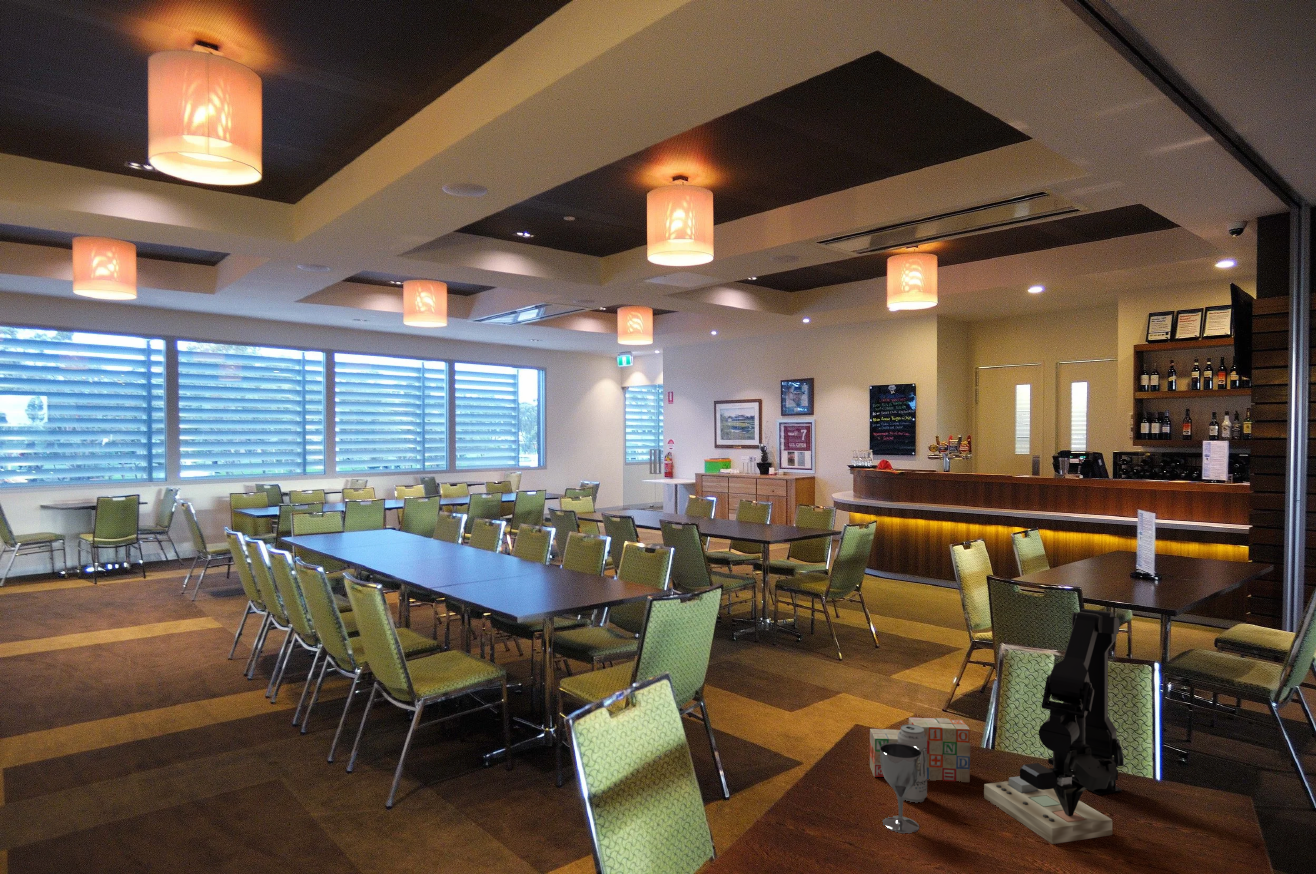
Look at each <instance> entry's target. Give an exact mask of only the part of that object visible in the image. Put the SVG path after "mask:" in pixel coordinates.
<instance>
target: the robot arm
mask: <svg viewBox="0 0 1316 874" xmlns="http://www.w3.org/2000/svg"><path fill="white" fill-rule="evenodd" d="M1071 613H1072V614H1071V631H1070V635H1069V639H1068V642H1067V644H1066V645H1067V646H1066V650H1065V652H1064V655H1063V658H1062V660H1061V661H1059V662H1057V663H1055V664H1054V665H1053V667H1052V669H1051V671H1050V674H1049V675H1047V677H1046V680H1045V684H1044V685H1045V686H1044V690H1043V698H1042V702H1041V709H1044V710H1048V711H1049V717H1048V718H1047V719H1046V720H1045V721H1044V722H1043V723H1042V724H1041V725H1040V727H1039V730H1038V737H1039V741H1040V742H1041V744H1042V745H1043V746H1044V747H1045V748H1046V749H1047V750H1049V751H1051V752H1052V757H1048V758H1047V763H1048V764H1049V765H1051V766H1052V767H1051V768H1047V767H1046V766H1044V765H1042V764H1040V763H1039V762H1036V763H1028V764H1022V765H1021V766H1020V768H1019V776H1020V778H1021V779H1022V780H1024V781H1026V782H1027V783H1029V784H1031V785H1032V786H1034V787H1036V788H1037V789H1041V790H1046V789H1054V791H1055V793H1056V795H1057V797H1058V799H1059V801H1060V804H1061V806H1062V808H1063V810H1064V812H1065V814H1066V815H1067V816H1073V814H1074V811H1075V809H1076V806H1077V804H1078V801H1080V799H1081V797H1082V795H1083V794H1084V791H1086V790H1088V791H1090V792H1092V793H1094V794H1096V795H1098V796H1101V795H1108V794H1115V793H1121V792H1122V789H1121V788H1120V787H1118V786H1117V785H1116V782H1117V781H1118V780H1119V770H1118V769H1117V768H1119V767H1124V766H1125V763H1124V759H1125V758H1124V757H1125V756H1124V751H1123V748H1122V746H1121V742H1120V739H1118V738H1117V728H1116V727H1115V725H1114V723H1113V721H1111V718H1110V717H1109V649H1110V648H1111V647H1112V646H1113V644H1114V643H1115V641H1116V640H1117V635H1118V634H1119V633H1120V618H1119V617H1117V616H1115V615H1114V613H1113V612H1112V611H1105V610H1097V609H1089V608H1081V609H1080V611H1078V612H1074V611H1072V612H1071ZM1051 698H1052V700H1051Z"/></svg>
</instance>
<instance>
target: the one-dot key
mask: <svg viewBox="0 0 1316 874" xmlns="http://www.w3.org/2000/svg"><path fill="white" fill-rule="evenodd" d="M1030 799H1031V800H1033V801H1034V802H1036V803H1038V804H1039V805H1041V806H1042V807H1050V806H1057V805H1060V803H1058V802H1056V801H1055V800H1053V799H1051V798H1050V797H1048V796H1039V797H1031V798H1030Z"/></svg>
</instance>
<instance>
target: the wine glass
mask: <svg viewBox="0 0 1316 874" xmlns="http://www.w3.org/2000/svg"><path fill="white" fill-rule="evenodd" d="M880 762H881V768H882V772H883V775H884V778H883V779H885V781H886V782H887V783H888V785H889V786H890V787H891V788H892V789H893V791H894V792H895V795H896V798H897V799H896V800H897V806H898V807H897V808H898V815H892V816H893V817H889V816H887V817H888V818H886V817H884V818H885V819H884V818H883V819H882V821H881V823H882V822H883V824H882V825H883V826H884V825H885V826H886V827H887V828H886V827H885V828H886V829H887V830H889V829H890V830H889V831H891V832H893V831H895V832H894V833H897V832H898V834H905V833H908V834H913V833H912V832H914V833H916V832H918V831H919V830H920V825H919V823H918V822H917V821H915V820H914V819H911V818H909V817H906V816H903V815H904V814H903V812H904V811H903V808H904V801H905V800H904V797H905V794H906V793H907V792H908V790H909V789H910V788H912V787H913V786H914V785H915V783H916V782H917V781H918V778H919V774H920V769H921V751H920V749H918V748H917V747H915V746H912V745H909V744H905V743H886V744H883V745H882V746H881V747H880Z"/></svg>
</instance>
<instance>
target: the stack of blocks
mask: <svg viewBox="0 0 1316 874" xmlns="http://www.w3.org/2000/svg"><path fill="white" fill-rule="evenodd" d="M908 724H911V725H917V726H920V727H922V728H923V729H924V733H925V735H926V737H927V779H928V780H927V781H936V780H943V781H942V782H955V781H959V782H960V781H961V782H960V783H970V780H971V778H970V777H971V776H970V775H971V772H970V771H971V770H970V769H971V741H970V739H971V728H969V726H968V725H967V724H966V722H964V720H963V719H950V718H946V717H945V718H943V717H936V718H933V717H931V718H930V717H923V718H922V717H908ZM900 730H901V729H890V728H889V729H885V728H884V729H883V728H882V729H881V728H870V729H869V768H870V769H871V772H872V775H873V777H874V778H875V777H884V775H883V772H882V768H881V762H880V747H881V746H882V745H883V744H886V743H898V733H899V731H900ZM929 779H930V780H929ZM944 780H945V781H944Z"/></svg>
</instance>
